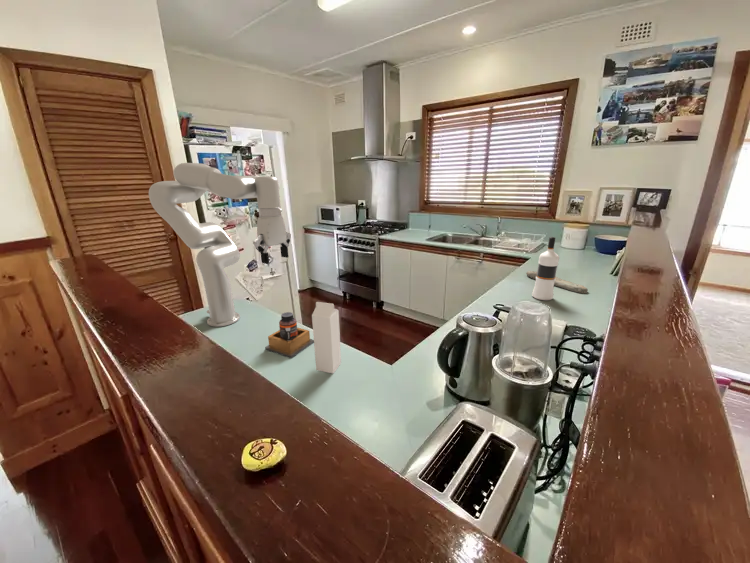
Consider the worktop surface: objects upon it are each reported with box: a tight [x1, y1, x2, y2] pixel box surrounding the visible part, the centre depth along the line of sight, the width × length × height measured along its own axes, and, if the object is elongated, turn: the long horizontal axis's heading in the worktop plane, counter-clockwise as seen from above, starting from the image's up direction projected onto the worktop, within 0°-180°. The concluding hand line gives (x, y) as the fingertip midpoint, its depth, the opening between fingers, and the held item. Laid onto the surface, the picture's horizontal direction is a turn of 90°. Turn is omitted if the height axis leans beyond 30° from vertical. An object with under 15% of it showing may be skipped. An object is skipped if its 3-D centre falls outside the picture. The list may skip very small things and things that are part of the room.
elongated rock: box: [525, 270, 588, 294], centre depth 173 cm, size 35×5×10 cm
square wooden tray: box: [265, 327, 314, 359], centre depth 111 cm, size 12×12×5 cm
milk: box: [311, 301, 342, 374], centre depth 96 cm, size 6×6×22 cm
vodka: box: [531, 236, 560, 301], centre depth 149 cm, size 9×9×30 cm
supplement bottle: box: [278, 311, 298, 341], centre depth 110 cm, size 6×6×11 cm
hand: (275, 260), depth 115 cm, fingers open, 9 cm apart
